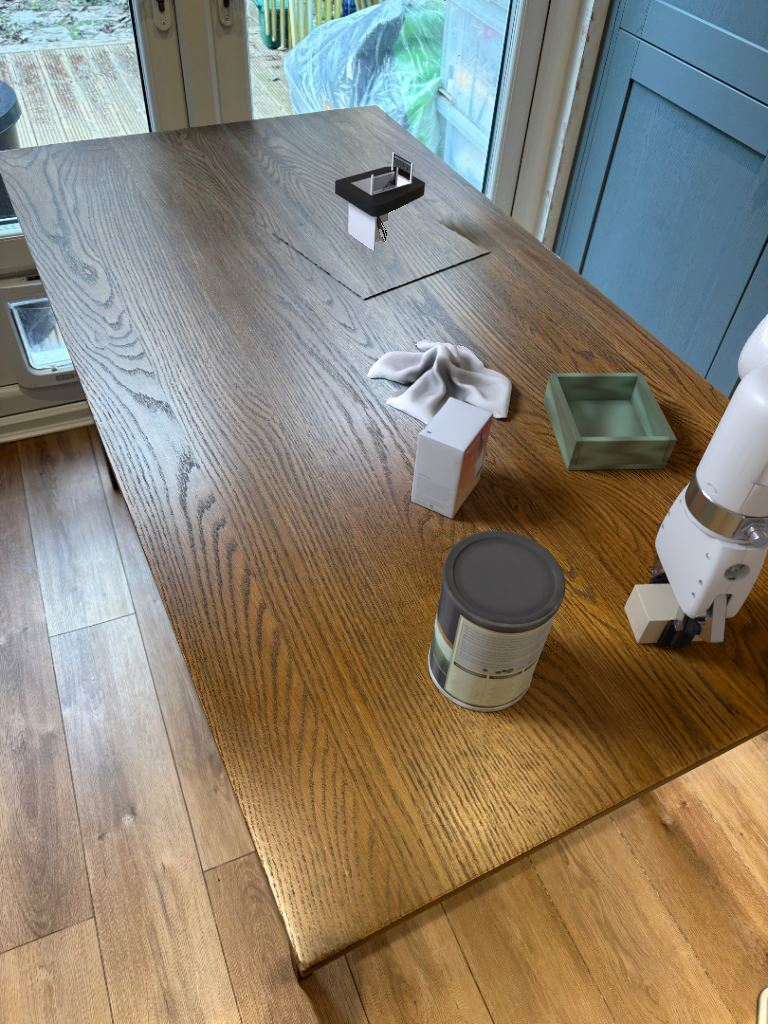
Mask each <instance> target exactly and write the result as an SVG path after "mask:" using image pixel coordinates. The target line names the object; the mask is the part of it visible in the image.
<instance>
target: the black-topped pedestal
mask: <svg viewBox="0 0 768 1024" xmlns="http://www.w3.org/2000/svg"><path fill="white" fill-rule="evenodd" d="M414 166H415V164H414V163H413V162H410V161H409V160H407V159H405V158H404V157H401V156H399V155H398V154H396V153H395V151H393V152H392V156H391V166H383V167H379V168H375V169H372V170H368V171H364V172H360V173H357V174H353V175H349V176H346V177H343V178H339V179H336V180H334V193H335V195H337V197H340V198H341V199H343V200H345V201H346V202H347V203H348V208H347V210H348V233H349V234H350V235H352V236H353V237H354V238H355V239H357V240H358V241H360V242H361V243H363V244H364V245H365V246H367V247H368V248H370V249H372V250H373V251H375V242H379V241H382V242H385V241H386V237H385V233H386V236H387V232H386V231H387V230H385V233H384V230H383V227H382V225H383V222H385V221H388V213H389V212H391V211H393V210H396V209H398V208H400V207H402V206H404V205H406V204H410V203H412V202H414V201H416V200H418V199H420V198H423V197H424V195H425V190H426V189H425V188H426V182H425V181H423V180H422V179H419V178H418V177H416V176H415V175H414ZM381 223H382V225H381ZM383 226H384V225H383ZM384 228H385V227H384ZM379 229H381V230H382V232H383V234H384V238H385V241H384V239H383V237H381V235H380V232H379ZM385 229H386V228H385Z"/></svg>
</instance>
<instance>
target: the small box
mask: <svg viewBox="0 0 768 1024" xmlns="http://www.w3.org/2000/svg"><path fill="white" fill-rule="evenodd" d="M493 418H494V417H493V413H491V412H488V411H486V410H483V409H481V408H478V407H475V406H473V405H470V404H468V403H465V402H463V401H460V400H457V399H455V398H452V397H450V398H449V399H448V400H447V402H446V403H445V404H444V405H443V407H442V408H441V409H440V410H439V412H438V413H437V414H436V415H435V416H434V417H433V419H432V420H431V421H430V422H429V423H428V424H427V425H426V424H425V426H424V428H423V429H421V430H420V432H418V435H417V443H416V453H415V460H414V469H413V477H412V487H411V497H410V501H411V502H412V503H414V504H416V505H418V506H420V507H423V508H425V509H428V510H430V511H433V512H435V513H437V514H439V515H442V516H444V517H446V518H449V519H454V518H455V516H456V515H457V513H458V511H459V510H460V508H461V507H462V505H463V504H464V503H465V501H466V500H467V498H468V497H469V496H470V494H471V493H472V492H473V490H474V489H475V487H476V486H477V484H479V482H480V479H481V474H482V469H483V466H484V460H485V456H486V451H487V446H488V442H489V437H490V432H491V428H492V427H491V426H492V422H493Z"/></svg>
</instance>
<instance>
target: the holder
mask: <svg viewBox="0 0 768 1024" xmlns="http://www.w3.org/2000/svg"><path fill="white" fill-rule="evenodd" d="M542 404H543V406H544V409H545V412H546V415H547V417H548V419H549V420H548V421H549V423H550V426H551V429H552V431H553V434H554V437H555V440H556V442H557V445H558V448H559V451H560V454H561V457H562V459H563V462H564V465H565V468H566V470H567V471H588V470H589V471H590V470H591V471H593V470H594V471H595V470H597V471H598V470H649V469H650V470H652V469H665V467H666V465H667V463H668V461H669V459H670V457H671V454H672V452H673V451H674V448H675V446H676V444H677V441H678V439H677V437H676V435H675V433H674V431H673V430H672V427H671V425H670V424H669V422H668V420H667V418H666V416H665V414H664V412H663V410H662V408H661V406H660V404H659V403H658V400H657V399H656V397H655V395H654V393H653V391H652V389H651V387H650V385H649V383H648V382H647V379H646V378H645V376H644V374H643V372H550V373H549V377H548V379H547V384H546V388H545V392H544V395H543V400H542Z"/></svg>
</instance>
